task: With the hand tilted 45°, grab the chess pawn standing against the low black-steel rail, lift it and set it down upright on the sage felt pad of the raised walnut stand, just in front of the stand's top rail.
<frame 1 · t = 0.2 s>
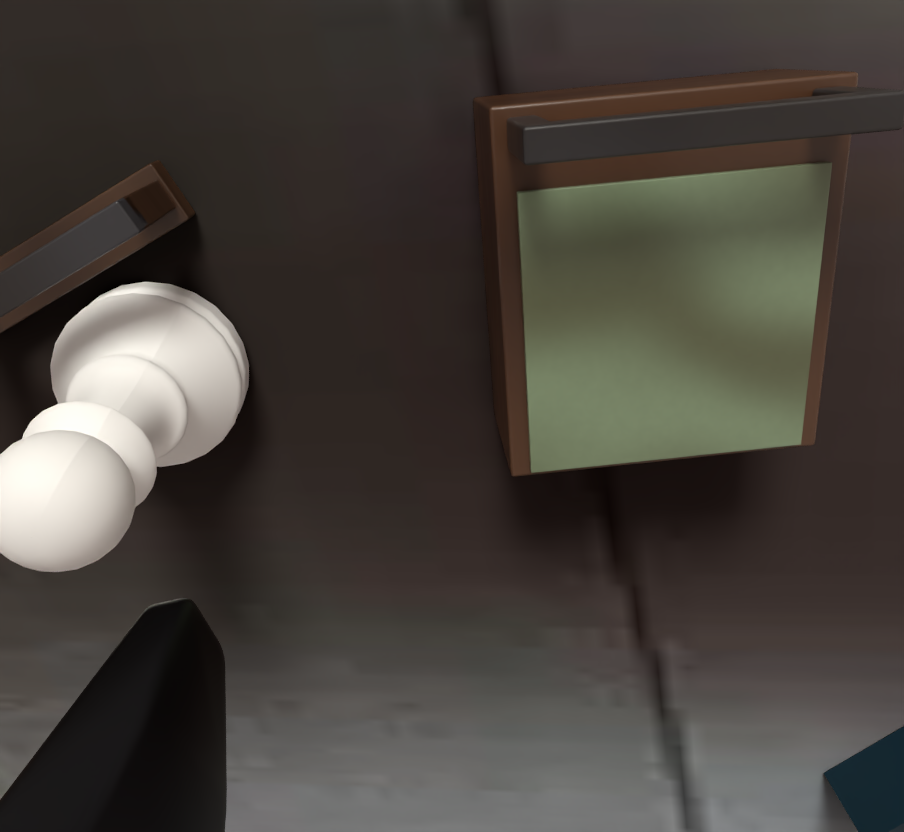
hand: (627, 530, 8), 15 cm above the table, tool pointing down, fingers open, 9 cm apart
low rail: (74, 250, 21), on the table
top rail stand: (625, 255, 22), on the table
chess pawn: (164, 362, 23), on the table
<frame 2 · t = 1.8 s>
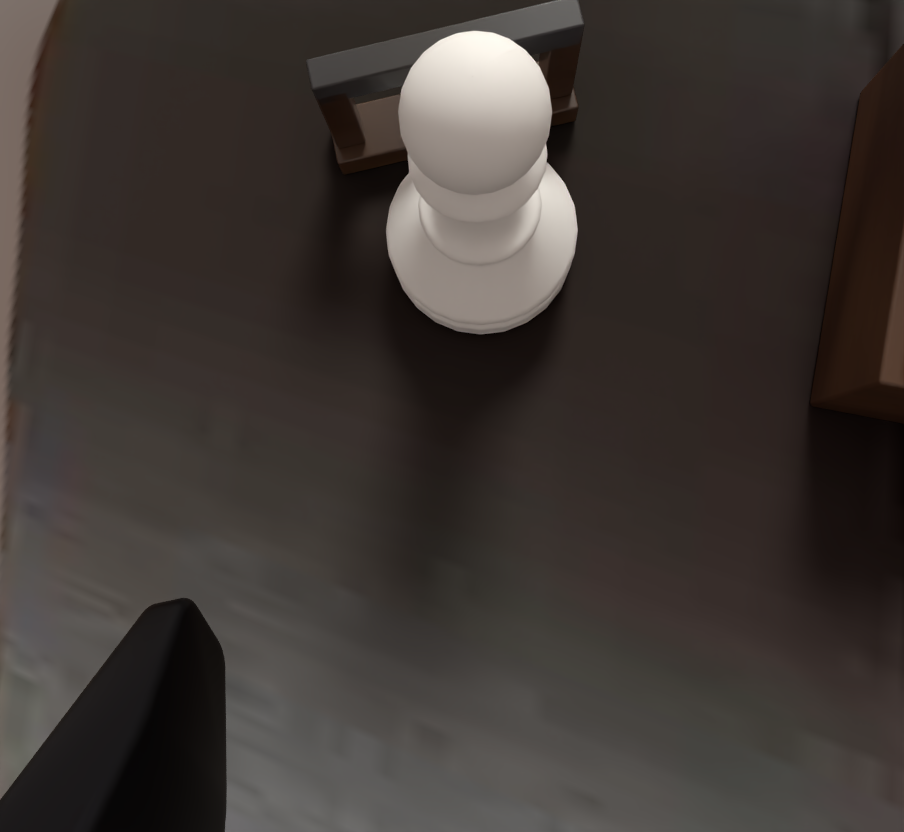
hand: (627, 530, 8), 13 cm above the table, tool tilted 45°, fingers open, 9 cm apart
low rail: (453, 122, 23), on the table
chess pawn: (482, 250, 22), on the table
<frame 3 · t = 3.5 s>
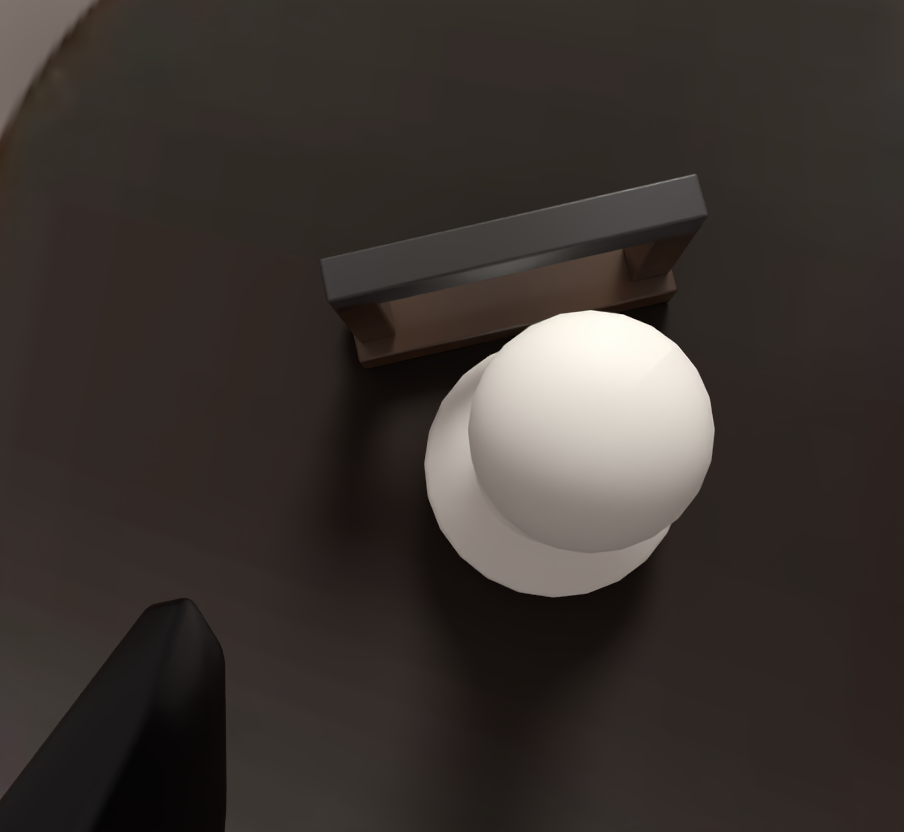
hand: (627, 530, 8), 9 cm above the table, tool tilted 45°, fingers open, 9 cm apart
low rail: (508, 300, 17), on the table
chess pawn: (547, 470, 17), on the table
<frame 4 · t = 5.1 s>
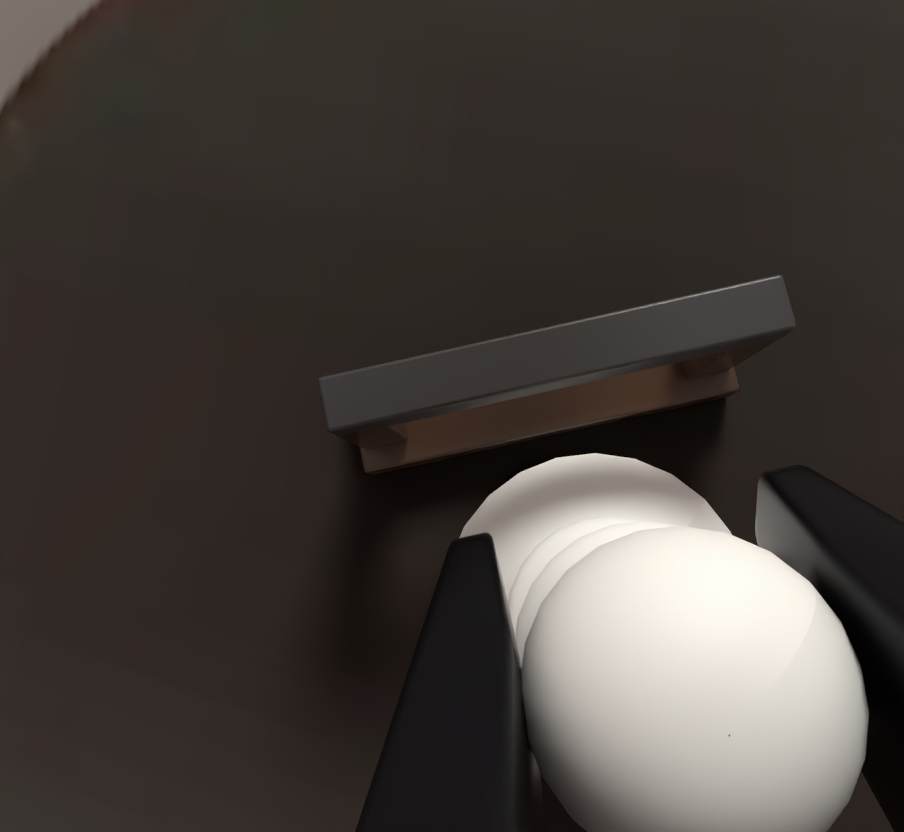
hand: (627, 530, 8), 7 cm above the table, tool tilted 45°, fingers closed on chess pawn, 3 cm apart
low rail: (539, 395, 15), on the table
chess pawn: (585, 596, 15), on the table, touching gripper
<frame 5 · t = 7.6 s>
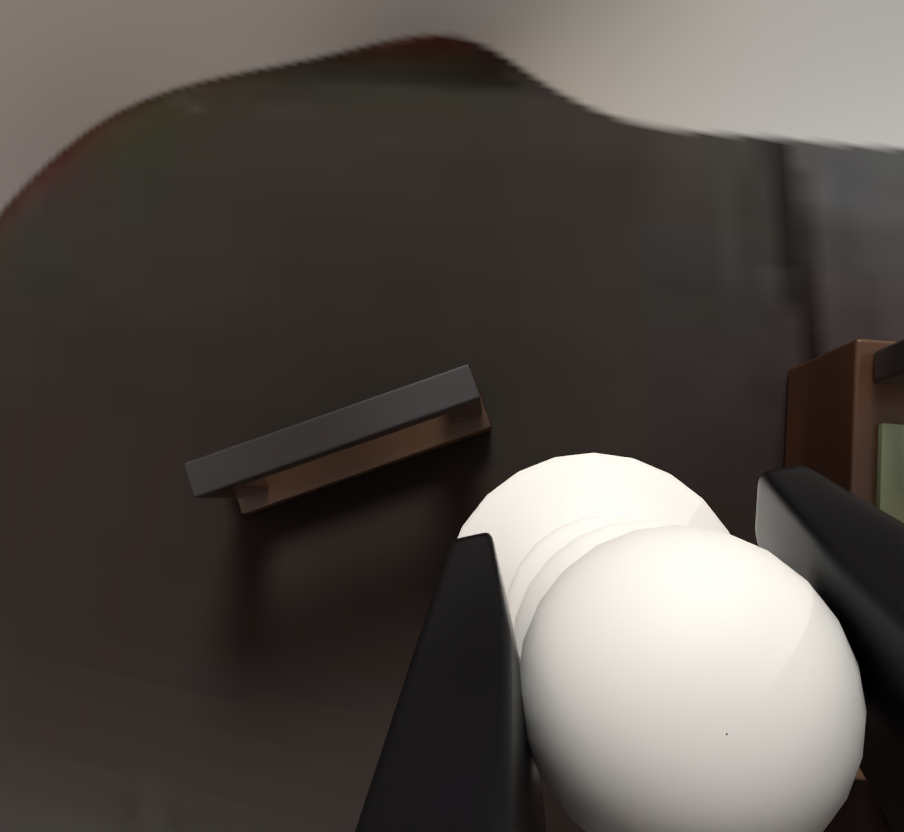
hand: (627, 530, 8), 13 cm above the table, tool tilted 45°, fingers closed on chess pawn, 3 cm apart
low rail: (361, 444, 21), on the table
chess pawn: (583, 595, 15), point 6 cm above the table, touching gripper
when the fingers open (11 cm above the table, at t = 10.1 s): chess pawn stays where it is, resting on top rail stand.
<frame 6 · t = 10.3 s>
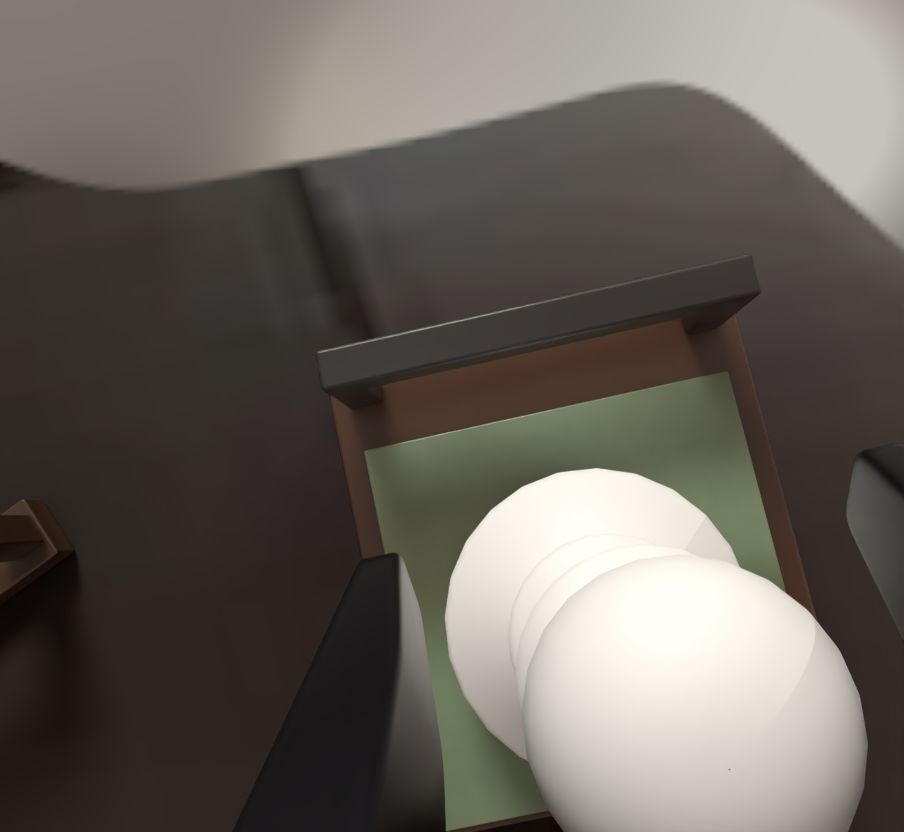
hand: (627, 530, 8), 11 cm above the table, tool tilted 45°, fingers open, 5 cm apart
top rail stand: (560, 543, 19), on the table
chess pawn: (586, 608, 15), point 4 cm above the table, touching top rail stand
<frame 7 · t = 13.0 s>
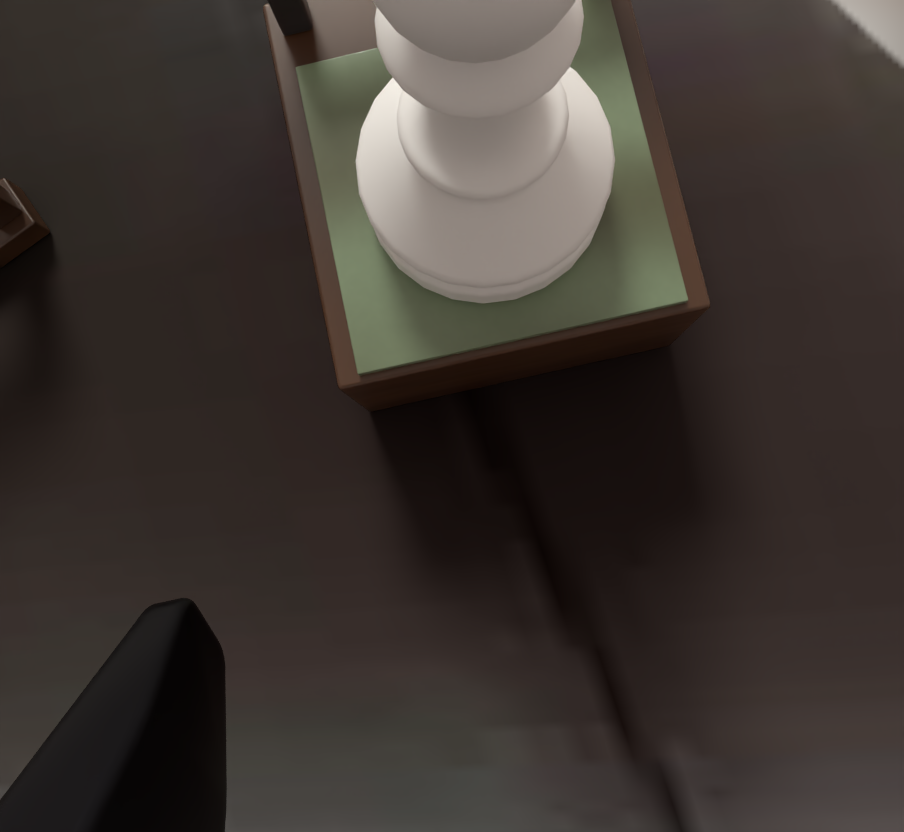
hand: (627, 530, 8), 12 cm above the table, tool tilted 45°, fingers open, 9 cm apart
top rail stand: (481, 216, 21), on the table
chess pawn: (485, 194, 17), point 4 cm above the table, touching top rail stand
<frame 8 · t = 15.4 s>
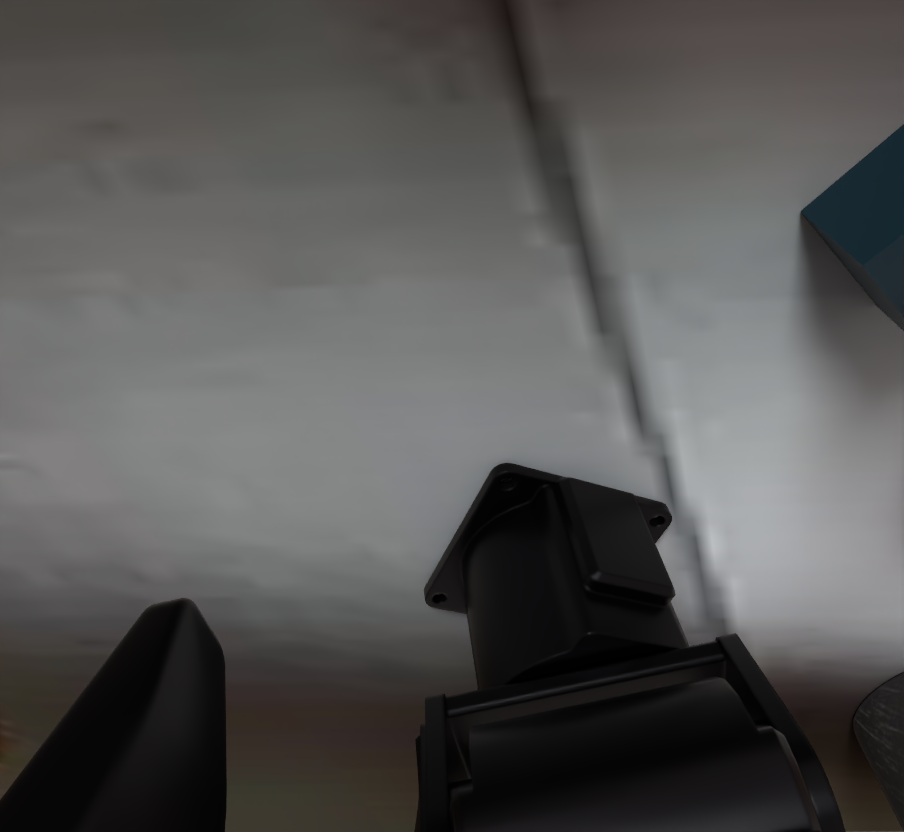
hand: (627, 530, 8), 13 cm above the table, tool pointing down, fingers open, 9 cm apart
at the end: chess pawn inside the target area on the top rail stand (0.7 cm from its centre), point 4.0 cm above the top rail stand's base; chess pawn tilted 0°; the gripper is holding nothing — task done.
